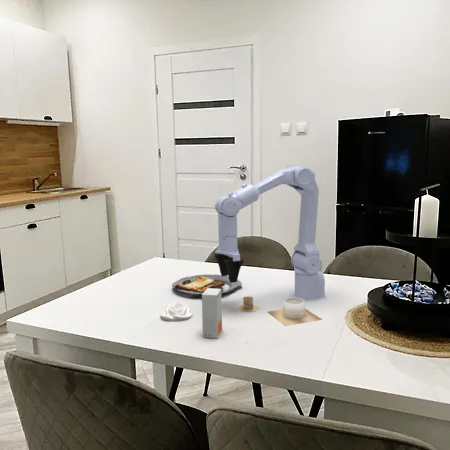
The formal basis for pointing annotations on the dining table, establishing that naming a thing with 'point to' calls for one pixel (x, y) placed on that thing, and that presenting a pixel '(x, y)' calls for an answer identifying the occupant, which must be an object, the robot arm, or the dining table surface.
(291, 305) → the jar
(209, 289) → the skincare box
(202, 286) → the food plate
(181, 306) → the rose
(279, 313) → the square wooden coaster
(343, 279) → the dining table surface
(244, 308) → the lid
